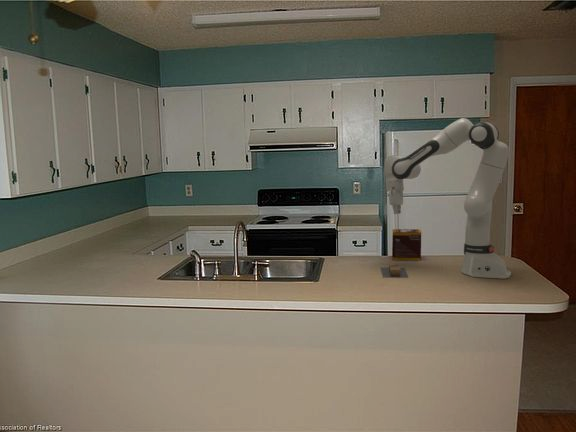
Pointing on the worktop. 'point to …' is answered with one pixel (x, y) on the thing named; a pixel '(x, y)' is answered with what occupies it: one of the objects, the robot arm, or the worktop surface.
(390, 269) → the walnut block
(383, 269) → the rubber mat
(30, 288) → the worktop surface
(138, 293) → the worktop surface
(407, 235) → the supplement box
